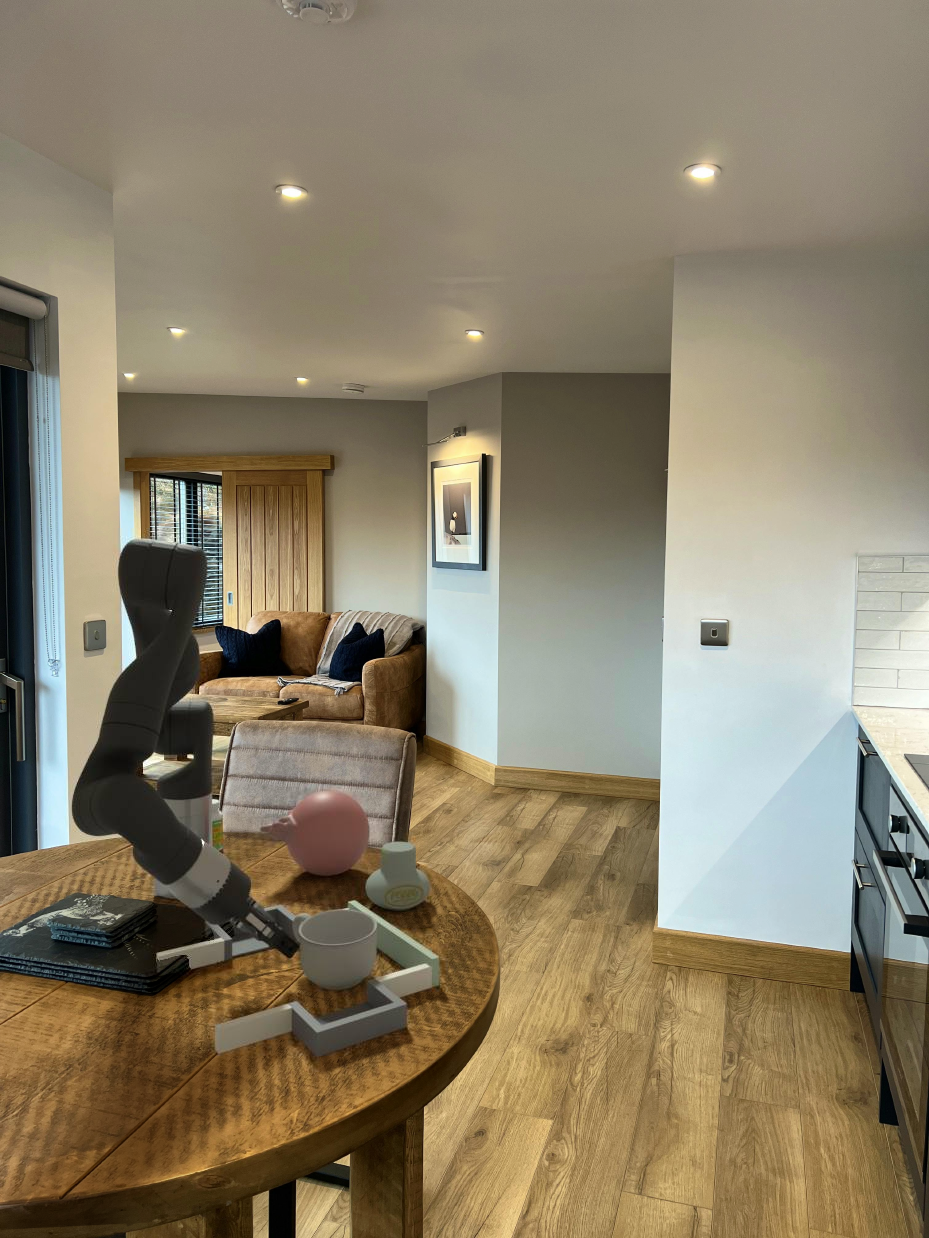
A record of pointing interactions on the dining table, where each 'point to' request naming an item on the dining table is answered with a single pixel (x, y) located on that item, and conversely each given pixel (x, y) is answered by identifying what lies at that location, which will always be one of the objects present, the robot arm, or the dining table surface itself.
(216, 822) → the supplement bottle
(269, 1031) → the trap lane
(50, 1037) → the dining table surface
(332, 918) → the teacup
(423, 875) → the air freshener
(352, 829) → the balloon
